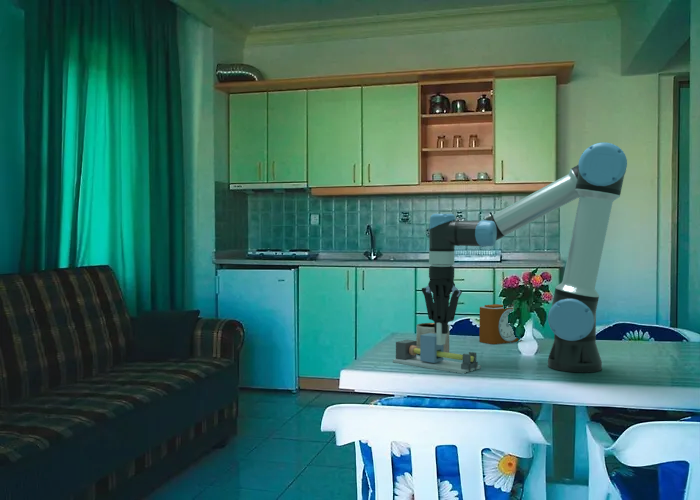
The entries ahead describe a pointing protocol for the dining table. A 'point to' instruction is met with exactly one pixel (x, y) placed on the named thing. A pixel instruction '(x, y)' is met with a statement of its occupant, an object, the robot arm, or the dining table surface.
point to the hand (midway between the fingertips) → (440, 344)
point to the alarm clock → (495, 325)
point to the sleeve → (430, 348)
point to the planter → (429, 328)
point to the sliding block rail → (408, 352)
